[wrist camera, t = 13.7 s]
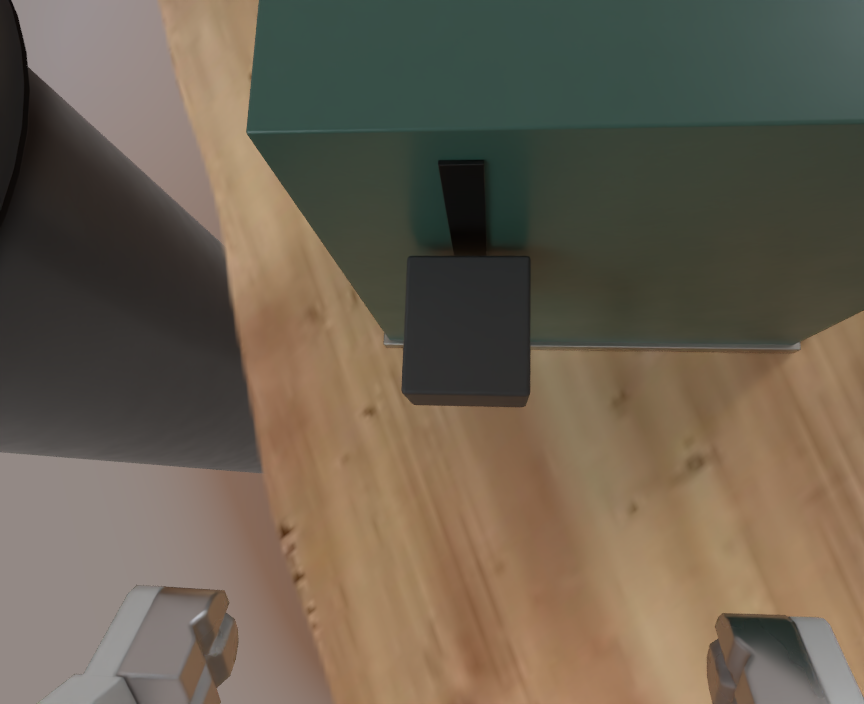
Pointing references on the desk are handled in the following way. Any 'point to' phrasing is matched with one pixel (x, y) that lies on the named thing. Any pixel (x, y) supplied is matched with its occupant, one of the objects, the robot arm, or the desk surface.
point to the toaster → (582, 157)
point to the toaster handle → (467, 331)
